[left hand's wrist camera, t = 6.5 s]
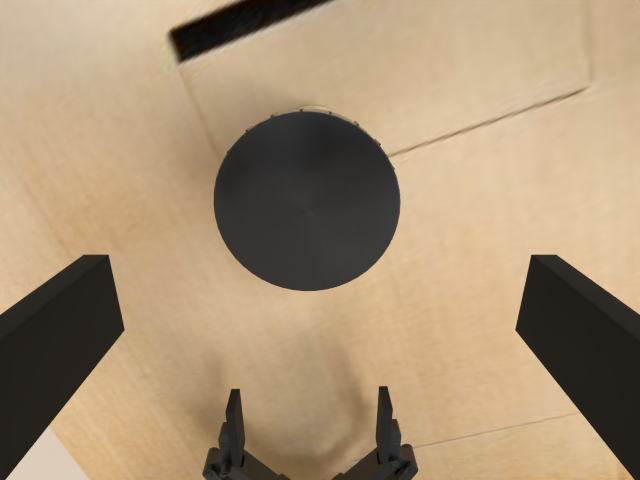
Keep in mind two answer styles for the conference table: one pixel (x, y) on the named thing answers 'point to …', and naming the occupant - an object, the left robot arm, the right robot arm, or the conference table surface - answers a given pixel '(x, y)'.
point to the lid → (307, 200)
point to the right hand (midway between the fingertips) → (309, 398)
